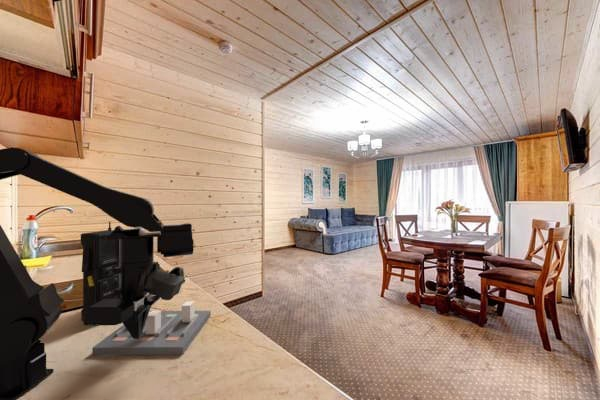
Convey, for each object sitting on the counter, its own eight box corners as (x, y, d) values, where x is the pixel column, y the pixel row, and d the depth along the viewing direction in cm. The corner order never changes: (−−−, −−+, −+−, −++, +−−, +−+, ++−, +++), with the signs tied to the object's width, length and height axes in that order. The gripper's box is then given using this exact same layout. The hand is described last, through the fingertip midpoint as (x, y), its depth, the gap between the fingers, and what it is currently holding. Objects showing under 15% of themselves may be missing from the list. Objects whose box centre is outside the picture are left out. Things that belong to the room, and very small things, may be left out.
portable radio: (95, 327, 60) (94, 224, 59) (75, 325, 61) (75, 224, 61) (124, 312, 67) (124, 221, 67) (106, 310, 69) (106, 221, 68)
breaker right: (181, 322, 59) (181, 305, 59) (186, 317, 61) (186, 301, 61) (190, 322, 59) (190, 305, 59) (194, 317, 61) (194, 301, 61)
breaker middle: (145, 334, 54) (145, 315, 54) (152, 328, 56) (152, 310, 56) (154, 334, 54) (154, 315, 54) (160, 328, 56) (160, 310, 56)
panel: (92, 355, 49) (92, 344, 49) (142, 316, 65) (142, 308, 65) (182, 354, 50) (182, 344, 50) (210, 316, 66) (210, 308, 65)
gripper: (149, 274, 40) (149, 370, 40) (196, 250, 58) (196, 315, 59) (80, 274, 40) (80, 370, 40) (149, 250, 58) (149, 315, 58)
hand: (137, 337), depth 49 cm, fingers closed
